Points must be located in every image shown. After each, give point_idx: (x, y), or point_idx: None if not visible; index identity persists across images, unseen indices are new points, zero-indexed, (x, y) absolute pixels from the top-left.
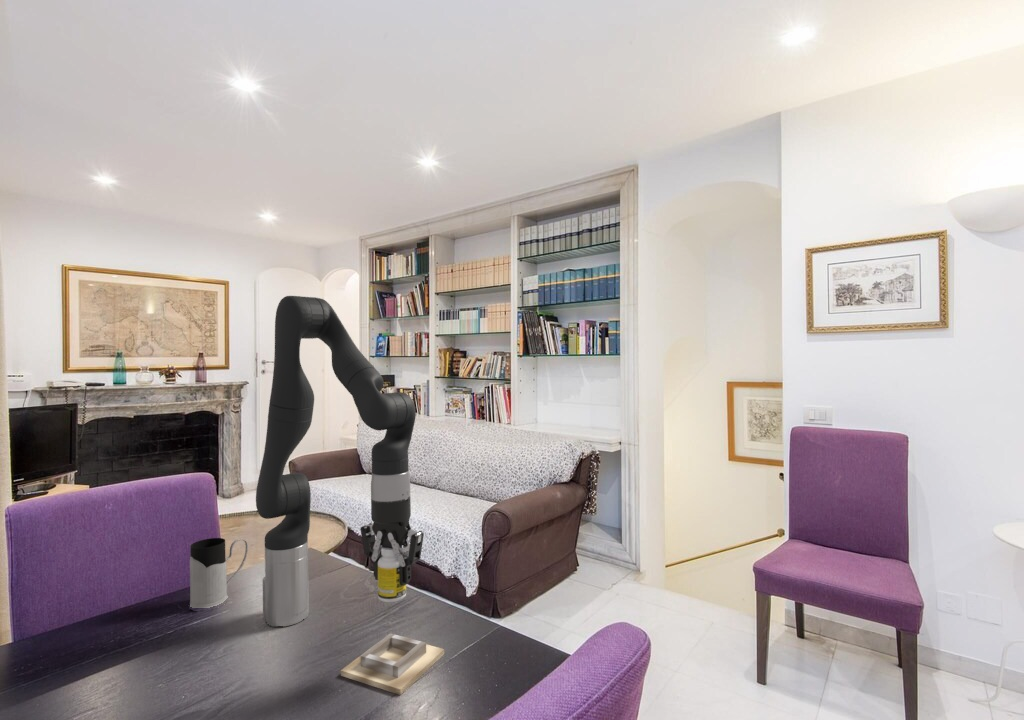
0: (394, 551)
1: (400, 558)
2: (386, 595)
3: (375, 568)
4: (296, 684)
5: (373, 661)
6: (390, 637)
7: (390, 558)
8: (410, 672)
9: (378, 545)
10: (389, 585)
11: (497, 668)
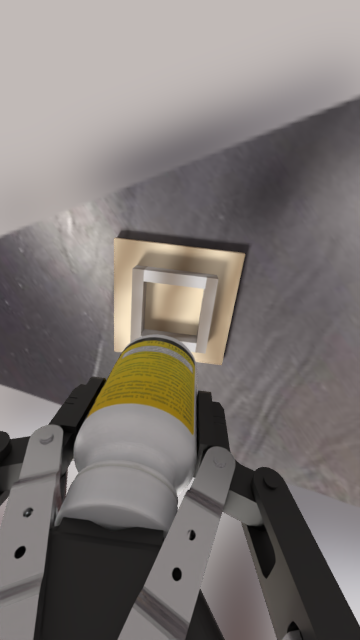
0: (48, 496)
1: (44, 460)
2: (146, 342)
3: (209, 421)
4: (310, 205)
5: (188, 274)
6: (197, 342)
7: (103, 457)
8: (127, 284)
9: (175, 539)
10: (128, 362)
11: (28, 336)
